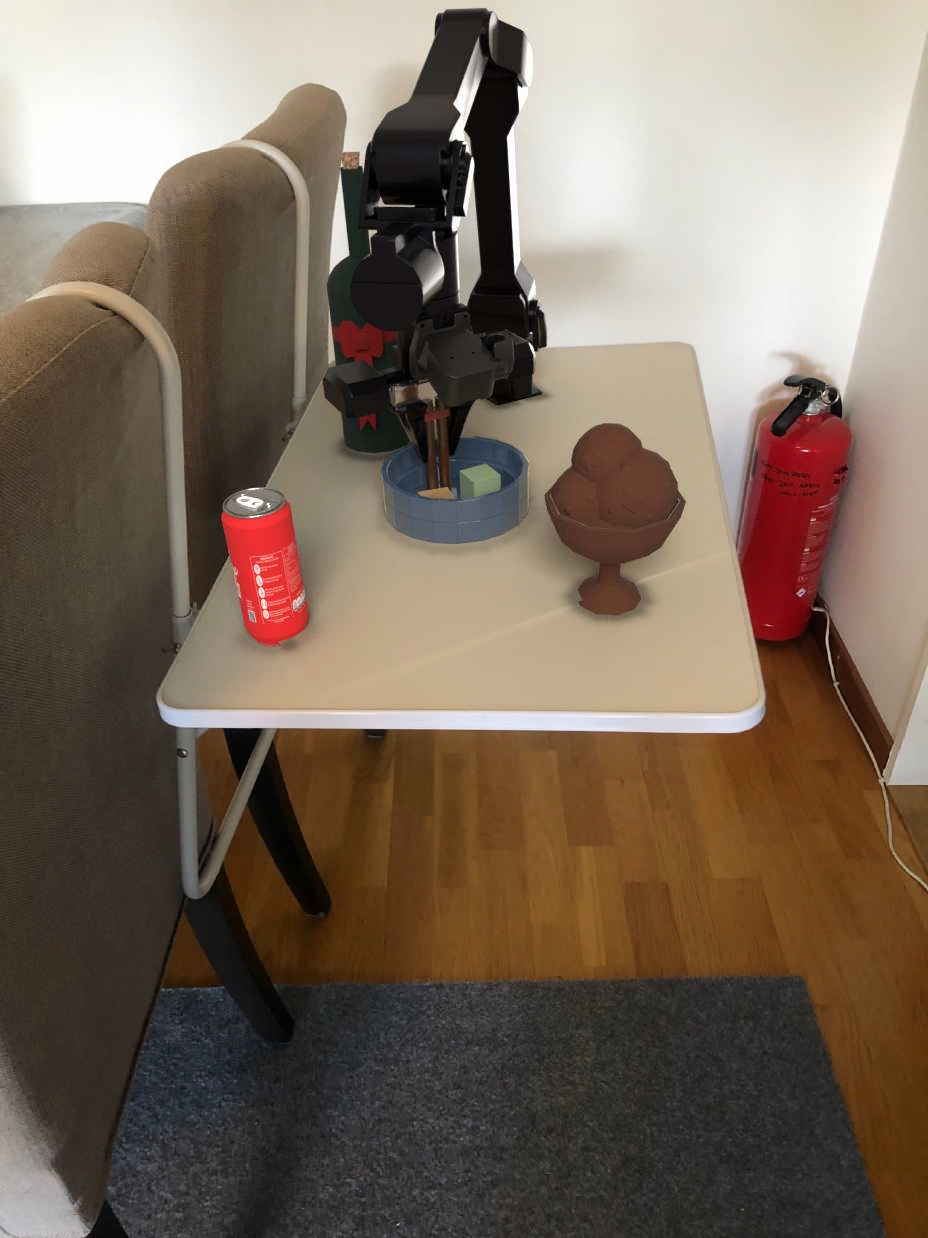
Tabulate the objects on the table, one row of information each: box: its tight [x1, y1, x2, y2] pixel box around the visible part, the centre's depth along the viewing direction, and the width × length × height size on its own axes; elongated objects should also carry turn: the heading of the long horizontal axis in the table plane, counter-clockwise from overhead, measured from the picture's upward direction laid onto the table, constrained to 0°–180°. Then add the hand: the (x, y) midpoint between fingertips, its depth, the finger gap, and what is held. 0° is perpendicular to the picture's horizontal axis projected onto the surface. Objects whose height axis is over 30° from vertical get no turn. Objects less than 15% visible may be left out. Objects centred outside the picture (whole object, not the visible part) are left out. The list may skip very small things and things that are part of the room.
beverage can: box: [221, 486, 309, 647], centre depth 73 cm, size 5×5×12 cm
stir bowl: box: [380, 435, 530, 544], centre depth 90 cm, size 14×14×5 cm
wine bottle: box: [326, 151, 410, 454], centre depth 96 cm, size 8×10×30 cm
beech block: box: [418, 487, 455, 499], centre depth 87 cm, size 3×3×3 cm
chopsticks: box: [421, 394, 452, 493], centre depth 86 cm, size 1×3×10 cm, turn 118°
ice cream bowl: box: [543, 422, 687, 616], centre depth 74 cm, size 11×11×15 cm
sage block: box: [460, 464, 501, 498], centre depth 91 cm, size 3×3×3 cm
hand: (436, 458), depth 87 cm, fingers closed on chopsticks, 2 cm apart
